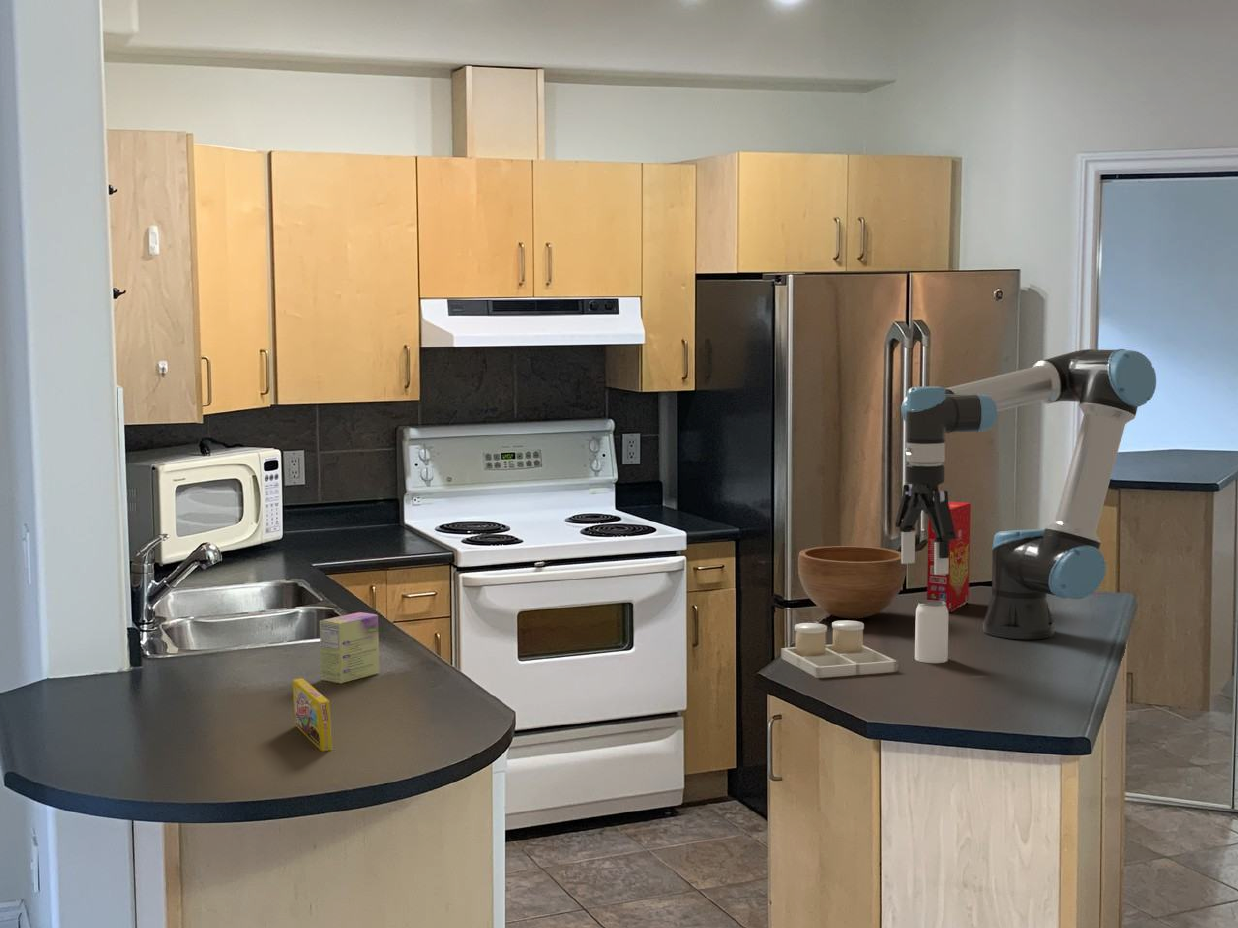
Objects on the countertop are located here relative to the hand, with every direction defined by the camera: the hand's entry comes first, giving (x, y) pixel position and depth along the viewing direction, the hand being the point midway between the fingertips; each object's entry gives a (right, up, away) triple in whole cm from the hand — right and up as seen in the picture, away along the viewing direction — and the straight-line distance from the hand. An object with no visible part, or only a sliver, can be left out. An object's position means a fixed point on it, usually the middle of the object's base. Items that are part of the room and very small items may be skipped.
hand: (924, 568), depth 273 cm
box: (-114, -21, -10) cm, 116 cm away
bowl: (-7, -15, +45) cm, 48 cm away
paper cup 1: (-23, -19, 0) cm, 30 cm away
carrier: (-18, -19, -3) cm, 26 cm away
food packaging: (+18, -14, +57) cm, 61 cm away
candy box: (-112, -24, -50) cm, 125 cm away
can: (+2, -19, +2) cm, 19 cm away
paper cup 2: (-15, -18, +2) cm, 24 cm away
